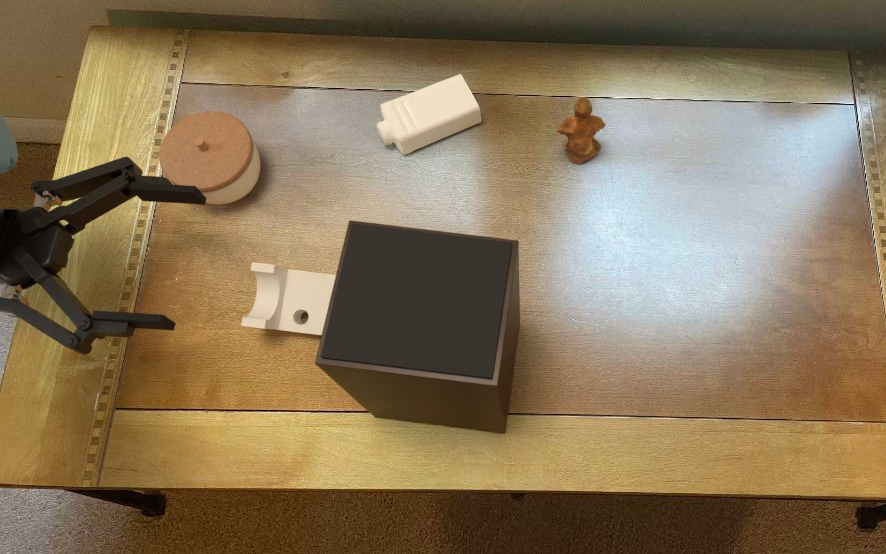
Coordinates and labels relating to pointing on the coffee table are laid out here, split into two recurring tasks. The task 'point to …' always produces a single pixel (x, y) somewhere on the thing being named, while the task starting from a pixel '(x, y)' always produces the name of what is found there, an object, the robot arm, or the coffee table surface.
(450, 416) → the walnut stand
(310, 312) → the bracket
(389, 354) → the black pad
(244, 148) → the trinket box
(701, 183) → the coffee table surface
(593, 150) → the figurine
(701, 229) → the coffee table surface
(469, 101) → the white bottle
